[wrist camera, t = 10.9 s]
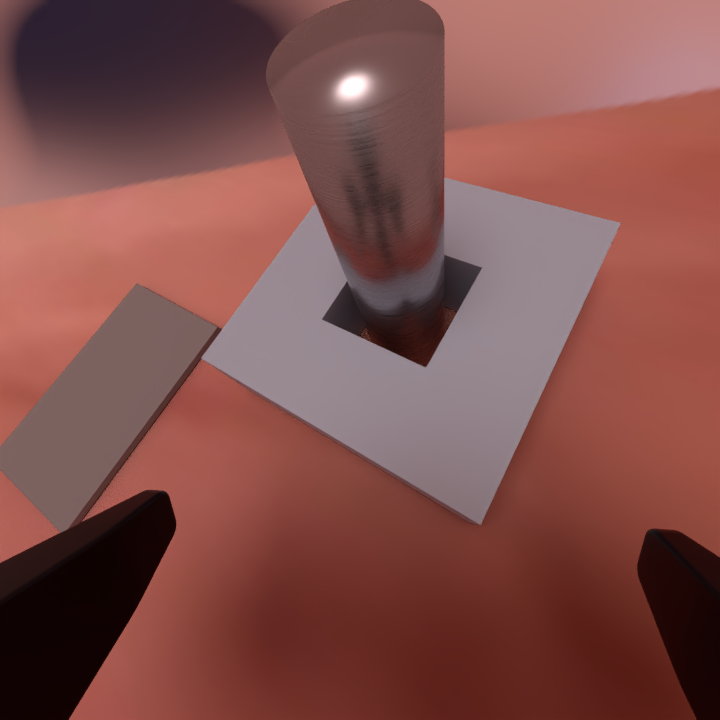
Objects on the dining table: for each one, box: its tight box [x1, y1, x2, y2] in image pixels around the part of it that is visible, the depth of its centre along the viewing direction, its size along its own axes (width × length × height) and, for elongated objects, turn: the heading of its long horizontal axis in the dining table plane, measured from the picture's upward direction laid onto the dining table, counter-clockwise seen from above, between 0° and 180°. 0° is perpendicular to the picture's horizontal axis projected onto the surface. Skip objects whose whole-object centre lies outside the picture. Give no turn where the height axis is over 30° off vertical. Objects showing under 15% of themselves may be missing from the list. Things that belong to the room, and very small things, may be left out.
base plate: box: [0, 284, 221, 532], centre depth 20 cm, size 12×7×1 cm, turn 149°
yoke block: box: [201, 178, 621, 525], centre depth 17 cm, size 12×12×4 cm
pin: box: [266, 0, 444, 367], centre depth 13 cm, size 3×3×12 cm
